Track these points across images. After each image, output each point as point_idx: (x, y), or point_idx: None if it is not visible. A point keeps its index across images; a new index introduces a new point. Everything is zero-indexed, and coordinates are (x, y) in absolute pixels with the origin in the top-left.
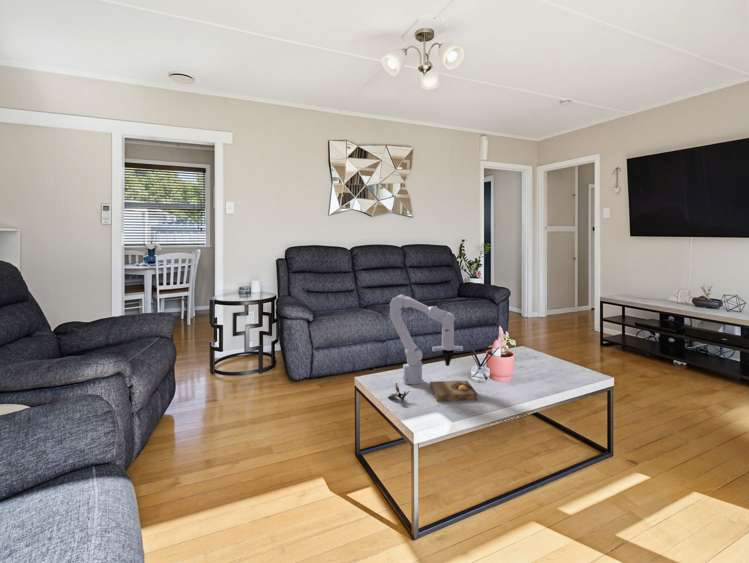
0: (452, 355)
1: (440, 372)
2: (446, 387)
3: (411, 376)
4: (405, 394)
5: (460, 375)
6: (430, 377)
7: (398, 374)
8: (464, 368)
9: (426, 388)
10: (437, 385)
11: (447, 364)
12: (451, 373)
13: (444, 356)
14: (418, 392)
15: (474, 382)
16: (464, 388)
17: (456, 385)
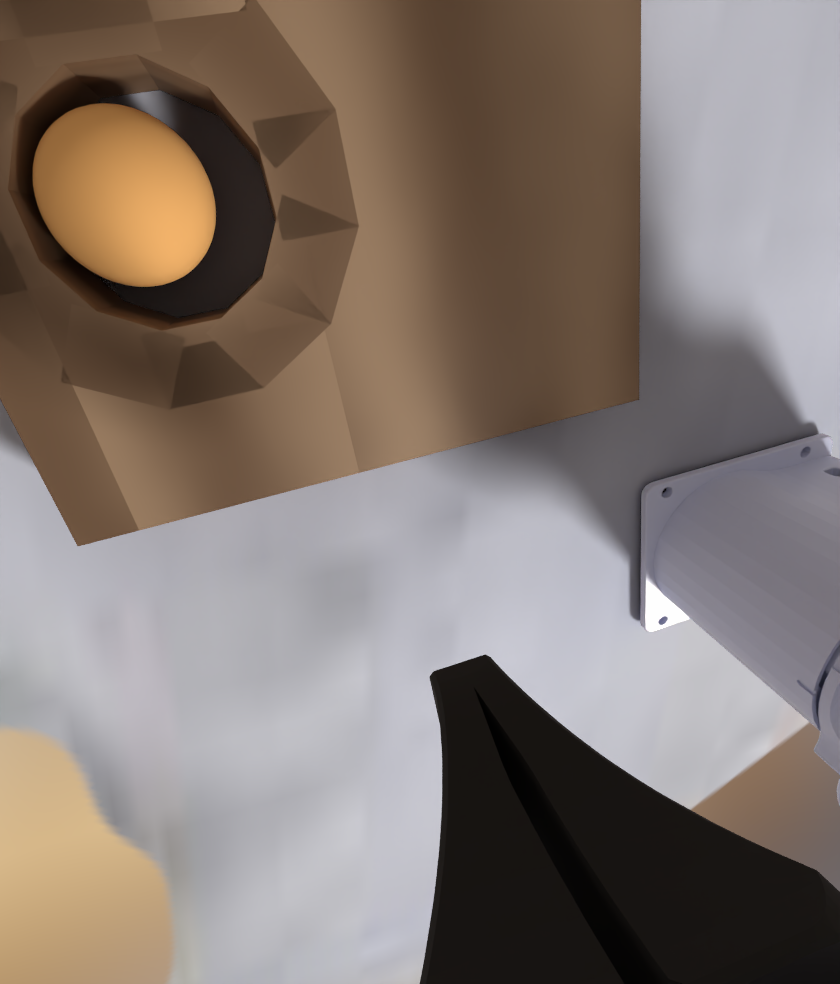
0: (440, 957)
1: (437, 812)
2: (428, 163)
3: (830, 498)
4: None
5: (225, 810)
6: (545, 672)
7: None
8: (193, 972)
9: None
10: (562, 250)
11: (481, 676)
12: (326, 825)
13: (694, 823)
14: (747, 195)
15: (15, 671)
16: (72, 116)
17: (250, 291)
